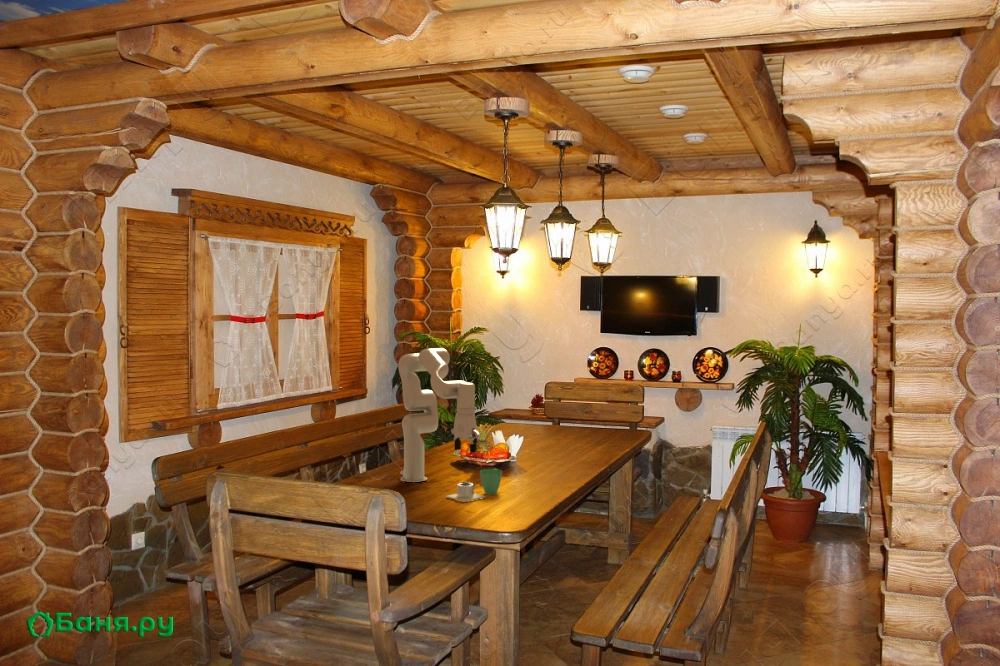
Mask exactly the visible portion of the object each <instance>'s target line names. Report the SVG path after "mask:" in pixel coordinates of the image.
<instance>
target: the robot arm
mask: <svg viewBox="0 0 1000 666" xmlns="http://www.w3.org/2000/svg"><path fill="white" fill-rule="evenodd" d="M450 359H451V355H450V352H449V351H448V350H447V349H445V348H443V347H437V348H436V347H435V348H424V349H422V350H421V351H420V352H417V353H415V352H414V353H413V352H412V353H408V354H407V353H406V354H404V355H402V356H401V357H400V359H399V361H398V371H399V372H398V373H399V377H400V379H401V386H402V398H403V399H402V401H403V406H404V408H405V409H406V411H410V412H413V411H423V412H419V413H418V412H416V413H410V414H407V415H404V417H403V418H402V421H401V427H402V433H403V469H402V470H401V471H400V472H399V474H400V475H402V477H400V481H401V480H402V481H407V482H419V481H425V480H427V479H428V477H427V476H425V440H424V439H423V437H422V436H421V434H426V433H433V432H435V431H437V429H438V428H439V414H438V413H439V411H438V400H437V397H436V396H438V397H439V398H441V399H444V400H448V399H456V413H455V416H454V423H453V428H451V430H450V432H451V435H452V438H453V441H454V451H458V450H459V451H460V450H461V448H462V440H461V439H463V440H469V442H470V444H469V453H470V454H476V453H477V444H478V442H479V441H480V438H481V433H480V432H479V431H478V430H477V420H476V415H475V411H476V410H475V409H476V408H475V405H476V404H475V403H476V402H475V400H476V394H475V392H476V388H475V387H476V385H475V384H474V383H473V382H468V381H465V380H447V381H444V380H443V379H444V378H446V377H447V375H448V373H449V369H450V368H449V366H448V365H449V364H450ZM416 372H428V373H429V375H430V386H431V389H432V390H431V389H422V388H421V380H420V378H419V376H418V374H417V373H416ZM402 481H401V482H402ZM427 481H428V480H427Z"/></svg>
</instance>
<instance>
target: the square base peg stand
mask: <svg viewBox="0 0 1000 666" xmlns="http://www.w3.org/2000/svg"><path fill="white" fill-rule="evenodd" d="M462 483H463V486H468V485H469V483H470V482H469V481H462ZM446 497H449V498H453V499H457V500H461V501H464V502H466V501H471V500H476V499H480V498H485V499H486V495H482V494H478V493H474V496H473V497H470V498H460V497H458V496H457V493H453V494H449V495H445V498H446Z"/></svg>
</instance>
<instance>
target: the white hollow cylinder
mask: <svg viewBox="0 0 1000 666" xmlns="http://www.w3.org/2000/svg"><path fill="white" fill-rule="evenodd" d="M456 485H457V486H456V488H457V489H456V491H457V492H456V494H457V496H458V497H460V498H470V497H473V496H474V494H475V491H474V490H475V489H474V488H475V487H474V483H472V482H469V485H468V486H463V482H460V483H457V484H456Z"/></svg>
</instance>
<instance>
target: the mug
mask: <svg viewBox="0 0 1000 666" xmlns="http://www.w3.org/2000/svg"><path fill="white" fill-rule="evenodd" d="M502 476H503V471H502V469H498V468H486V469H481V470H480V471H479V477H480V481H481V485H482V489H483V491H484V494H485V493H486V494H485V495H487V494H495V495H497V493H498V491H499V488H500V485H501V481H502Z"/></svg>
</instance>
